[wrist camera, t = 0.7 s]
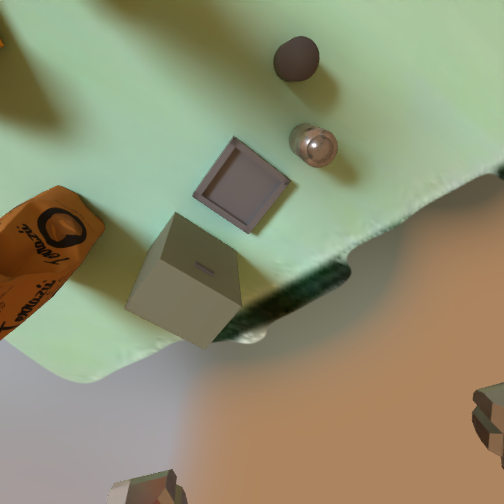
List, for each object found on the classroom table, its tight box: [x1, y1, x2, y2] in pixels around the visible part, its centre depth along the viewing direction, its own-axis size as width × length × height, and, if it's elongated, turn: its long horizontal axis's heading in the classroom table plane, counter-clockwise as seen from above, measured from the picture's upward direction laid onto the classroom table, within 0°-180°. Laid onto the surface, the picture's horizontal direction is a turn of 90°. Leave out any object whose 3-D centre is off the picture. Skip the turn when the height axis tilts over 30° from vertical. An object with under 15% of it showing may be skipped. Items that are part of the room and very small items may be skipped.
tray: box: [192, 136, 291, 234], centre depth 45 cm, size 9×9×2 cm
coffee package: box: [0, 185, 105, 340], centre depth 36 cm, size 10×12×22 cm
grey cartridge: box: [289, 123, 338, 167], centre depth 40 cm, size 4×4×8 cm
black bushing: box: [274, 36, 319, 82], centre depth 38 cm, size 4×4×5 cm
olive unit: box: [124, 212, 242, 349], centre depth 43 cm, size 8×10×14 cm
